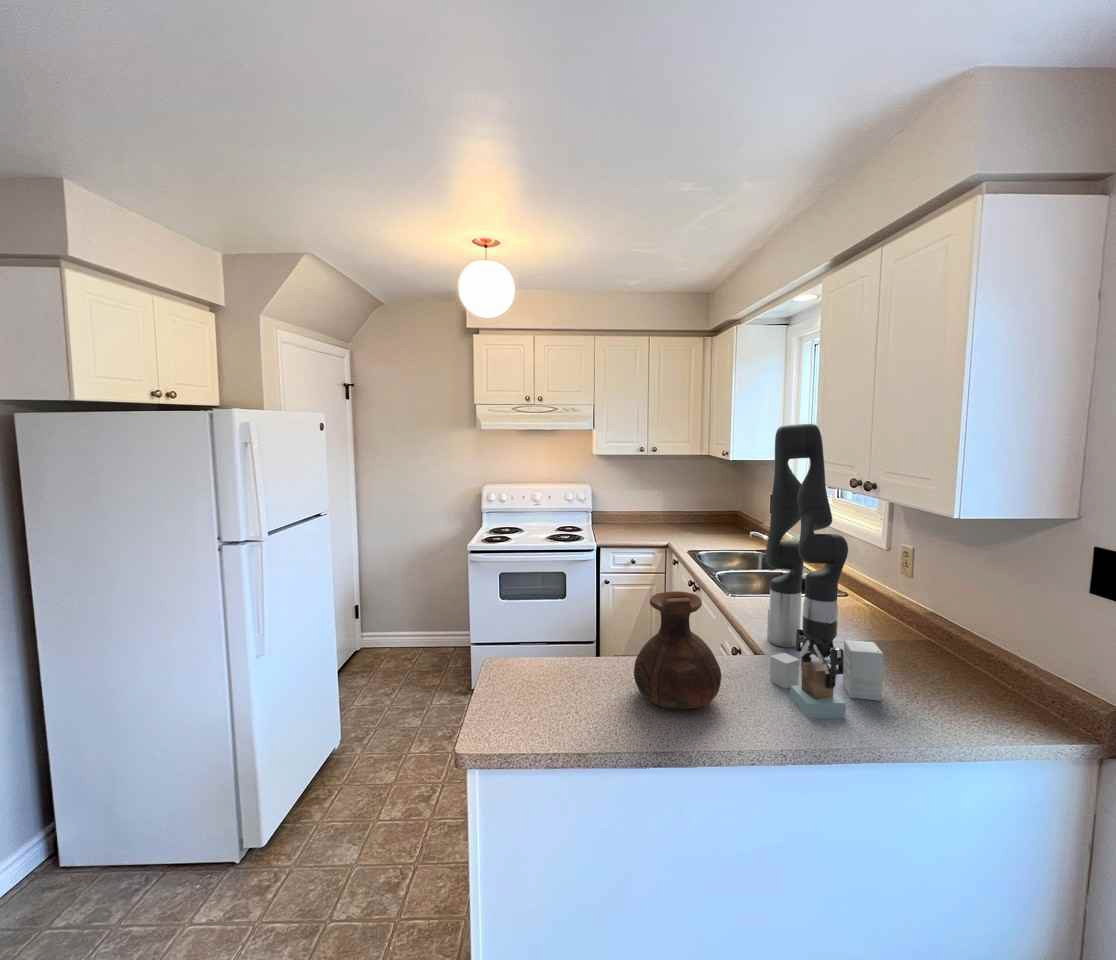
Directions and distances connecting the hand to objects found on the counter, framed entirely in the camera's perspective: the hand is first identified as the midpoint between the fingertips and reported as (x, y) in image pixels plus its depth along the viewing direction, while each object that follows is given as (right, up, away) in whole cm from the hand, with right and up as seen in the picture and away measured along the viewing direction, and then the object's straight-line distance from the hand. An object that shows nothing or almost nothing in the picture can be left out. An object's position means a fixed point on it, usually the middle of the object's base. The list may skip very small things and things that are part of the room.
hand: (817, 679), depth 129 cm
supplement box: (+15, -7, +8) cm, 18 cm away
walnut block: (0, -4, +1) cm, 4 cm away
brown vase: (-33, -7, +6) cm, 35 cm away
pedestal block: (0, -8, +1) cm, 8 cm away
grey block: (-2, -6, +13) cm, 15 cm away
